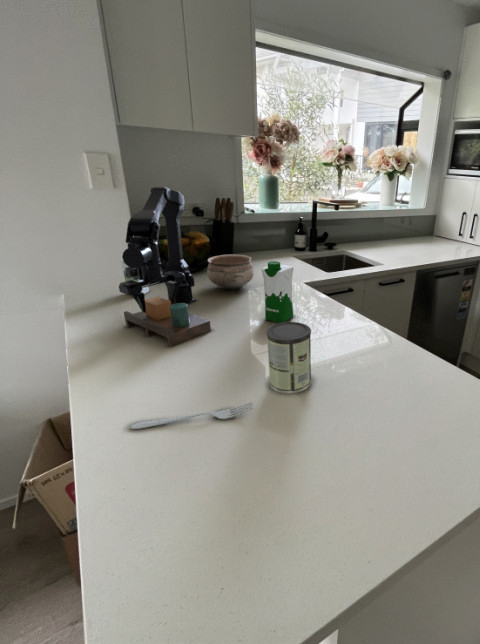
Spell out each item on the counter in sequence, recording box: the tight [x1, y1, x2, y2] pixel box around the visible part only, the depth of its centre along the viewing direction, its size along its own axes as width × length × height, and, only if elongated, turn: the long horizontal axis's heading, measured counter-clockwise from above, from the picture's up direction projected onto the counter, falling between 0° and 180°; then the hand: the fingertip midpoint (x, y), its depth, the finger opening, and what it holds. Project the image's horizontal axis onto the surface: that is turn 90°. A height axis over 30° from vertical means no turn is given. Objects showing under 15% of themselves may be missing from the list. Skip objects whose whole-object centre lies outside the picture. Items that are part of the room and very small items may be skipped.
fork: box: [129, 401, 253, 430], centre depth 78 cm, size 3×24×2 cm, turn 105°
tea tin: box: [170, 303, 190, 327], centre depth 114 cm, size 5×5×6 cm
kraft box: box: [145, 296, 171, 320], centre depth 120 cm, size 5×7×5 cm
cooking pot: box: [206, 253, 255, 291], centre depth 158 cm, size 25×19×12 cm
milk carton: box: [261, 260, 294, 324], centre depth 126 cm, size 9×9×20 cm
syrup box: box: [120, 258, 150, 295], centre depth 148 cm, size 6×6×14 cm
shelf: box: [123, 310, 212, 347], centre depth 119 cm, size 14×24×5 cm, turn 56°
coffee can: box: [265, 321, 312, 395], centre depth 90 cm, size 10×10×14 cm
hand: (158, 308), depth 120 cm, fingers open, 9 cm apart
